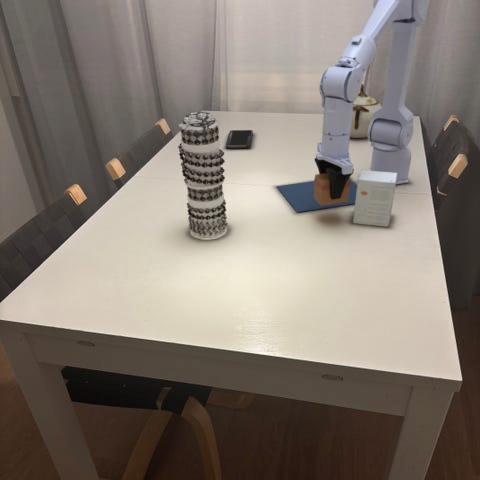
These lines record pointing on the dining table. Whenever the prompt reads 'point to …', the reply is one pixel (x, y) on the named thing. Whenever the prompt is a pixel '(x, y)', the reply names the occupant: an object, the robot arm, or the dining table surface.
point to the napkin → (311, 196)
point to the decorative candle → (203, 175)
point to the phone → (239, 139)
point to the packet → (327, 190)
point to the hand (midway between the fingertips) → (331, 193)
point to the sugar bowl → (362, 114)
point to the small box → (374, 198)
